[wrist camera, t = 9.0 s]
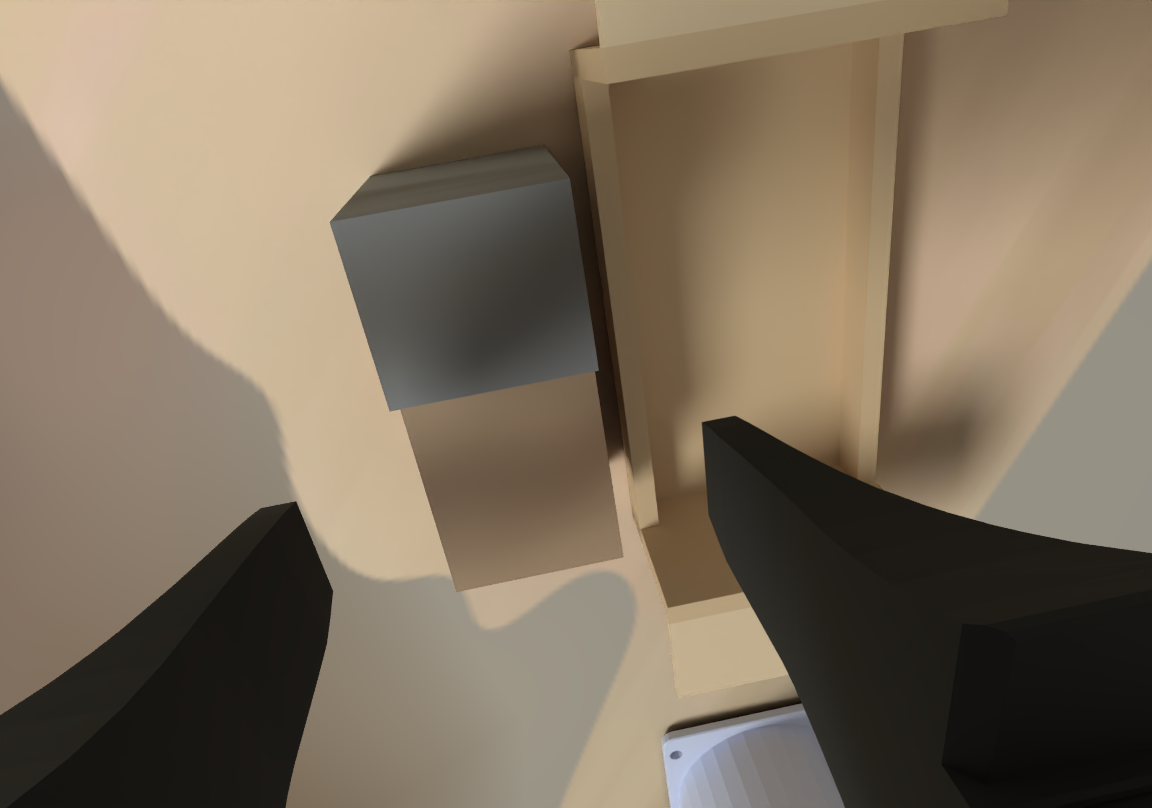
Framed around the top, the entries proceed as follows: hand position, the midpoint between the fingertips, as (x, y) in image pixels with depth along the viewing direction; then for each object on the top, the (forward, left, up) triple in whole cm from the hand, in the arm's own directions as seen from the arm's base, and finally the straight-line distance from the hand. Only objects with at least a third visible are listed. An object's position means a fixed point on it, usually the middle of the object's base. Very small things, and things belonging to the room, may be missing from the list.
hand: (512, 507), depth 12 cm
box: (0, 0, -9) cm, 9 cm away
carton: (0, -7, -9) cm, 11 cm away
